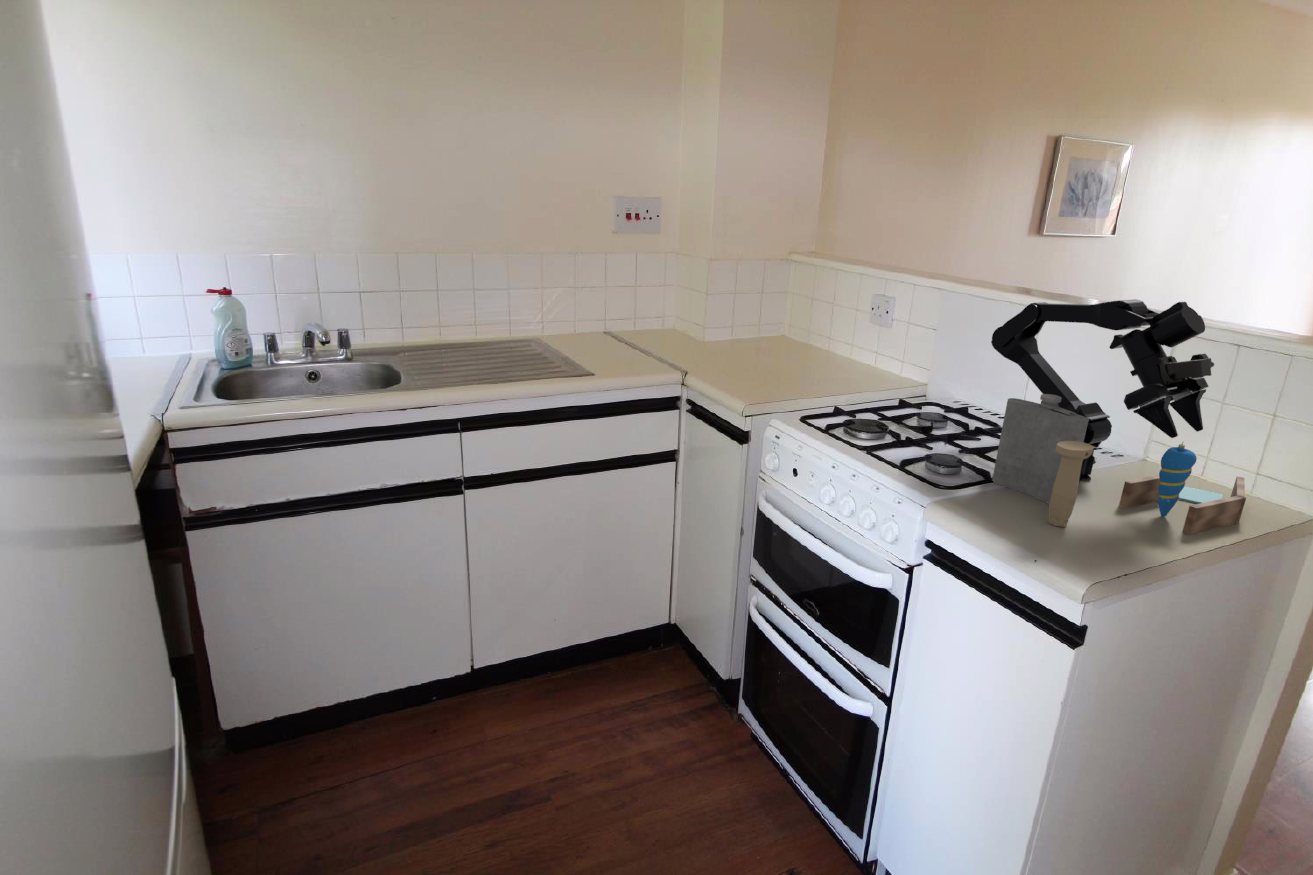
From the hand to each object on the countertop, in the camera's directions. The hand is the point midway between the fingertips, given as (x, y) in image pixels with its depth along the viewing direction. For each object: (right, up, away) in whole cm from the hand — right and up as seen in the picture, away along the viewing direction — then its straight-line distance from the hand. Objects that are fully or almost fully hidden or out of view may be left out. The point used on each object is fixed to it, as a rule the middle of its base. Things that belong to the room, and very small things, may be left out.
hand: (1187, 433), depth 141 cm
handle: (-26, -16, -4) cm, 31 cm away
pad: (+10, -13, +11) cm, 20 cm away
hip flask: (-24, -12, +10) cm, 29 cm away
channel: (+3, -14, +5) cm, 16 cm away
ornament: (-4, -16, +1) cm, 16 cm away
